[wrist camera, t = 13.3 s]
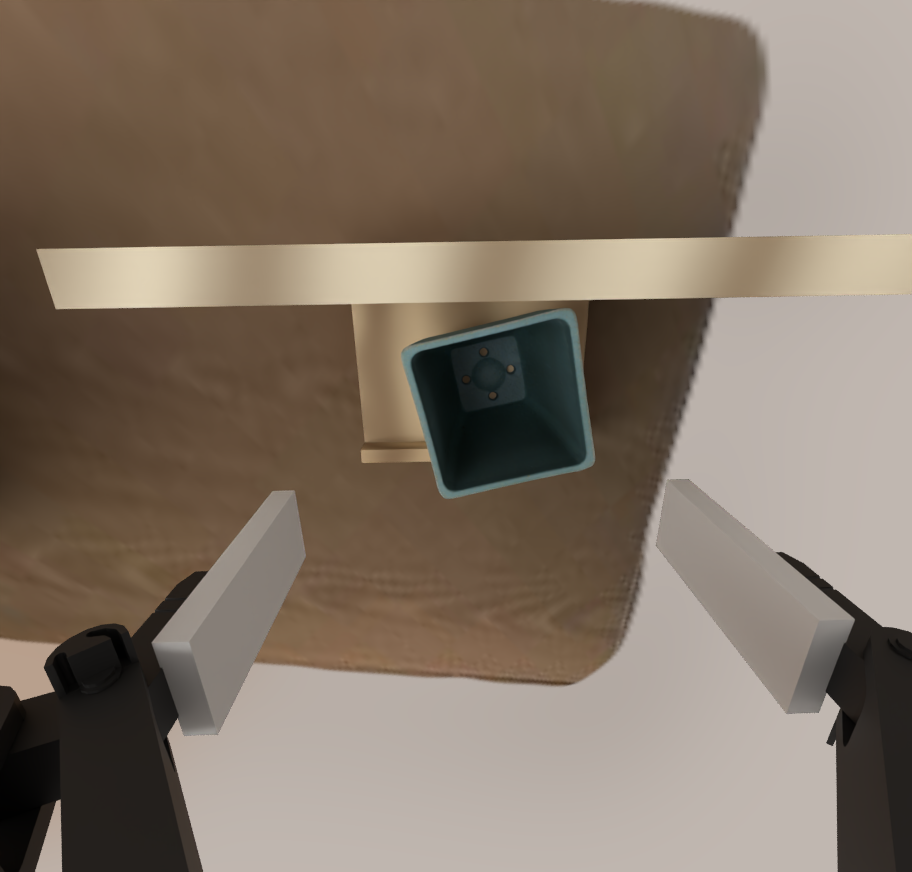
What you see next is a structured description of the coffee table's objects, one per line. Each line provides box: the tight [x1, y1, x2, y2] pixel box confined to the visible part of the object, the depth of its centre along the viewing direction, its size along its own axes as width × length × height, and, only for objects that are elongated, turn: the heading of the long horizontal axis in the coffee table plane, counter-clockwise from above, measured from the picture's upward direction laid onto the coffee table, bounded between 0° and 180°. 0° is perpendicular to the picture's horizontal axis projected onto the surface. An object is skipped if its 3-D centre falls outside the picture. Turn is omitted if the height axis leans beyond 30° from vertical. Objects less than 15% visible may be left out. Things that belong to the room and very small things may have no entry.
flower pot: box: [401, 308, 595, 499], centre depth 27 cm, size 9×9×9 cm
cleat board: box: [36, 234, 912, 463], centre depth 24 cm, size 24×14×22 cm, turn 91°
